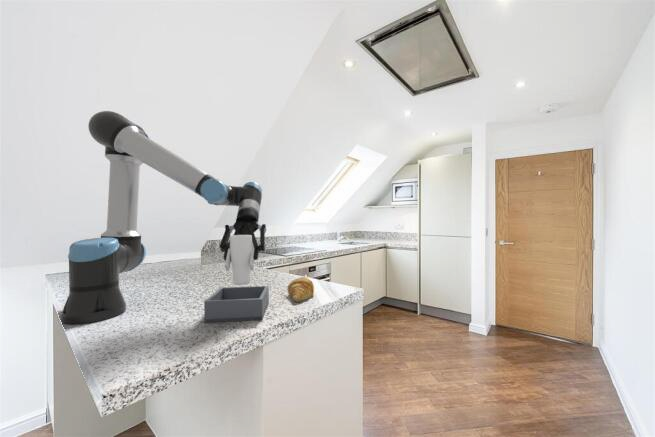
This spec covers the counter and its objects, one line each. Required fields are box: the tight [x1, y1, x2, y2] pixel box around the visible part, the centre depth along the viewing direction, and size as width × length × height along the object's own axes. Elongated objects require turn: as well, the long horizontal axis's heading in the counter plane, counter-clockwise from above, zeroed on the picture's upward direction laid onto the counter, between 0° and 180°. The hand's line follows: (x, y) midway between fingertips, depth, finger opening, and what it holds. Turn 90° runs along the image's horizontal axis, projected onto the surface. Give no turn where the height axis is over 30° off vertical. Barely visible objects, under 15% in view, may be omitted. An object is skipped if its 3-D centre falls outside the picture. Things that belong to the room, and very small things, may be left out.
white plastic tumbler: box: [229, 234, 253, 286], centre depth 86 cm, size 7×7×15 cm
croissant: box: [287, 276, 315, 302], centre depth 104 cm, size 21×10×8 cm, turn 177°
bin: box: [203, 285, 270, 324], centre depth 85 cm, size 16×16×6 cm
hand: (239, 267), depth 82 cm, fingers closed on white plastic tumbler, 6 cm apart
